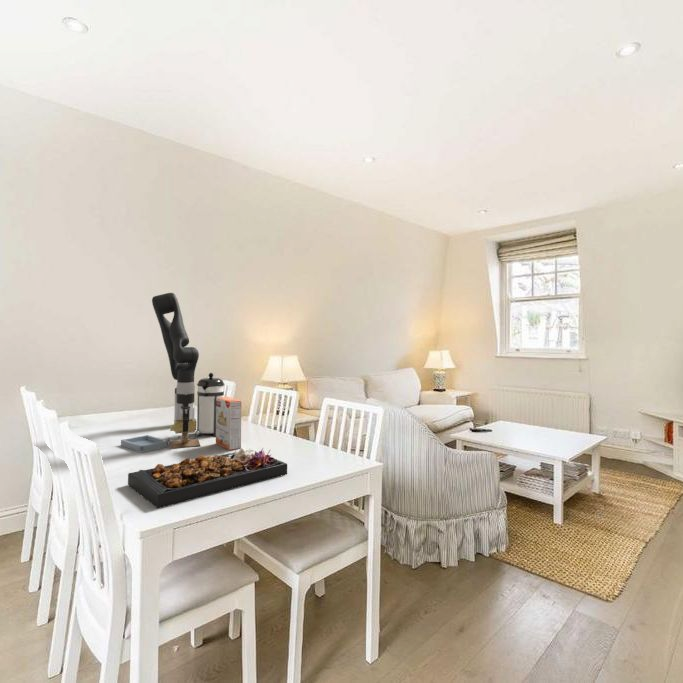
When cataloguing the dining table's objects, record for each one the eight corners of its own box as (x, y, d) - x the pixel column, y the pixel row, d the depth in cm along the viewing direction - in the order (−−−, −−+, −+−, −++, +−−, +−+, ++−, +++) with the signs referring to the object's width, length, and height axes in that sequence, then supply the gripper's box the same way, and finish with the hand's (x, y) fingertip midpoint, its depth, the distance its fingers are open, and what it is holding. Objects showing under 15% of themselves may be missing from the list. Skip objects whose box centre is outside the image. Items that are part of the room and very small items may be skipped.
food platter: (249, 460, 168) (249, 434, 168) (287, 475, 150) (287, 446, 150) (127, 487, 137) (128, 455, 136) (157, 510, 119) (158, 473, 119)
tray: (120, 445, 184) (120, 439, 184) (147, 440, 194) (147, 435, 194) (141, 452, 174) (141, 446, 174) (168, 446, 184) (168, 441, 184)
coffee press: (232, 435, 207) (233, 373, 207) (199, 439, 198) (199, 374, 198) (220, 428, 222) (221, 370, 221) (189, 431, 213) (189, 371, 212)
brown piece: (197, 439, 196) (198, 425, 196) (200, 446, 185) (200, 431, 185) (169, 442, 192) (170, 427, 192) (170, 448, 181) (170, 433, 181)
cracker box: (214, 444, 190) (215, 397, 190) (227, 442, 194) (228, 396, 193) (228, 450, 179) (228, 401, 179) (241, 448, 183) (242, 400, 183)
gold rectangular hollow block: (195, 427, 193) (195, 418, 193) (196, 430, 187) (196, 421, 187) (170, 429, 189) (170, 420, 189) (170, 431, 183) (170, 422, 183)
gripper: (175, 390, 193) (175, 427, 193) (177, 394, 180) (176, 434, 180) (193, 390, 196) (192, 426, 196) (195, 394, 183) (195, 433, 183)
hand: (184, 429), depth 188 cm, fingers closed on gold rectangular hollow block, 6 cm apart
